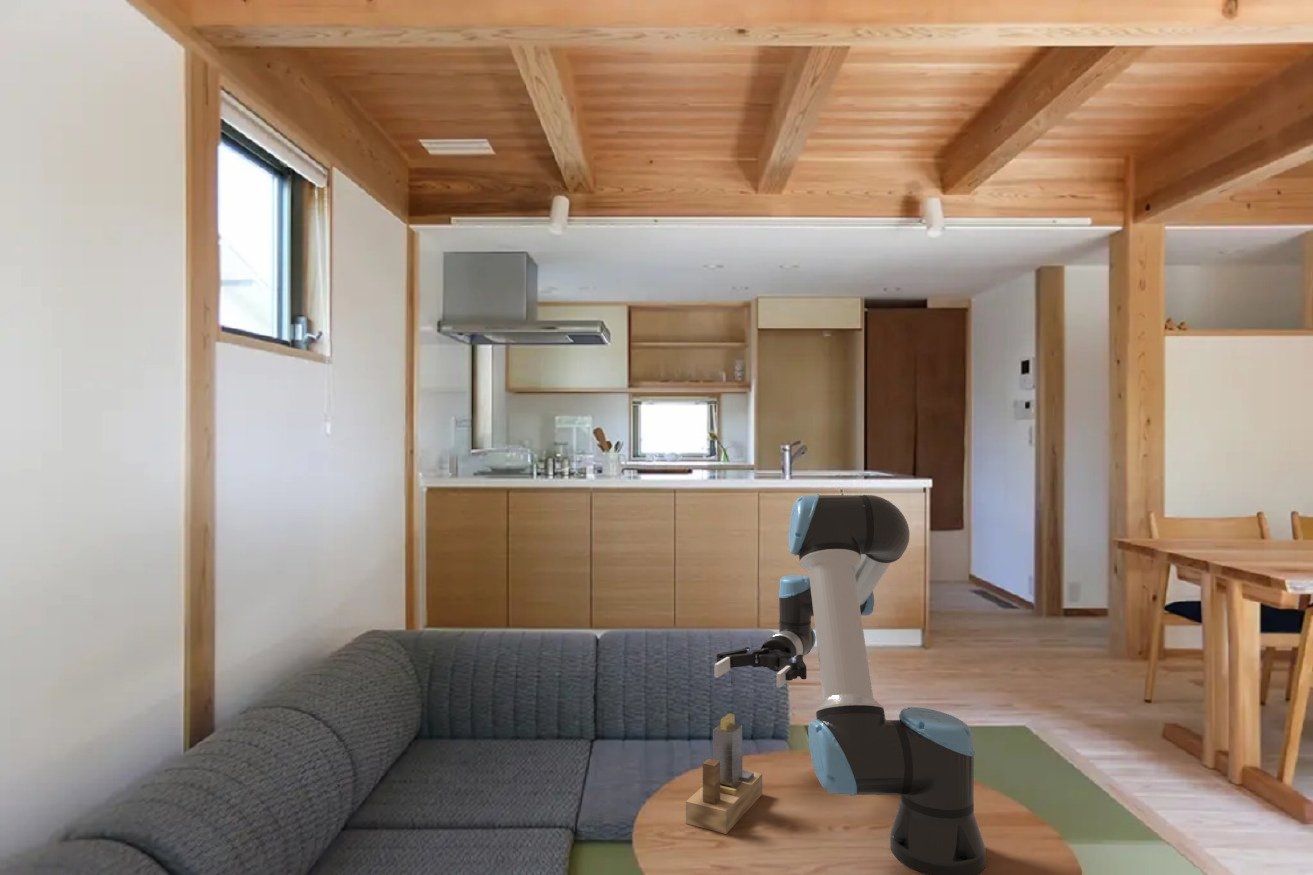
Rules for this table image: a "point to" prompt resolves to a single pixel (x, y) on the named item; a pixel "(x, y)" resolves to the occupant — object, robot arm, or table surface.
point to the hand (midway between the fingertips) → (746, 675)
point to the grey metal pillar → (728, 751)
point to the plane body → (721, 799)
